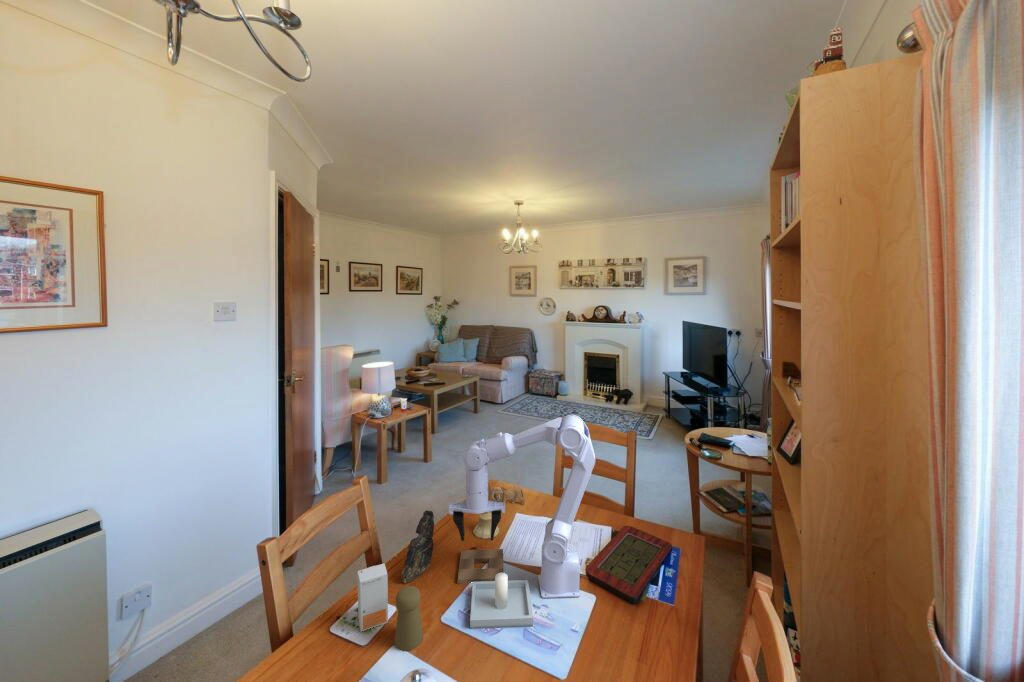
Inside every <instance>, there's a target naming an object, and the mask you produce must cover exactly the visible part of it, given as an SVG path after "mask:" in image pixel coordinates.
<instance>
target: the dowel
mask: <svg viewBox="0 0 1024 682" xmlns="http://www.w3.org/2000/svg"><path fill="white" fill-rule="evenodd" d="M508 581H509V576H508V574H507V573H505V572H504V573H498V574H496V576H495V607H496V608H497V609H505V608H506V607H507V602H508Z"/></svg>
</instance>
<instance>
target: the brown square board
mask: <svg viewBox="0 0 1024 682" xmlns="http://www.w3.org/2000/svg"><path fill="white" fill-rule="evenodd" d="M459 558H460V559H459V567H458V574H457V585H462V584H463V585H467V584H469V583H471V582H481V581H495V576H496V574H498V573H505V566H504V548H495V549H494V548H492V549H491V548H490V549H461V551H460V557H459ZM477 563H478V564H479V563H480V564H481V563H489V564H488V568H475V564H477Z"/></svg>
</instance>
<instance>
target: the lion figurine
mask: <svg viewBox="0 0 1024 682" xmlns="http://www.w3.org/2000/svg"><path fill="white" fill-rule="evenodd" d="M491 499H492V501H494V502H505V504H506V502H507V500H510V499H513V500H511V501H510V503H511V504H515V502H516V501H517V499H518V500H520V501H522V502H521V503H520V504H522V506H524V505H525V504H526V503H525V500H526V498H525V497H524V491H523V489H522V488H521V487H520V486H512V487H509V488H505V487H503V486H502V487H501V486H494V487H493V488H491Z"/></svg>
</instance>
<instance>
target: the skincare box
mask: <svg viewBox="0 0 1024 682" xmlns="http://www.w3.org/2000/svg"><path fill="white" fill-rule="evenodd" d="M356 573H357V614H358V619H357V620H358V625H359V631H360V633H363V632H364V631H368V630H371V629H373V627H374V628H377V627H379V626H383V625H385V624H387V623H388V622H389V601H388V599H389V598H388V596H389V593H388V591H389V590H388V589H389V587H388V581H389V580H388V571H387V568H386V563H381V564H378V565H372V566H369V567H366V568H364V569H360V570H357V572H356ZM376 626H377V627H376ZM370 628H371V629H370ZM367 629H368V630H367ZM362 631H363V632H362Z"/></svg>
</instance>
